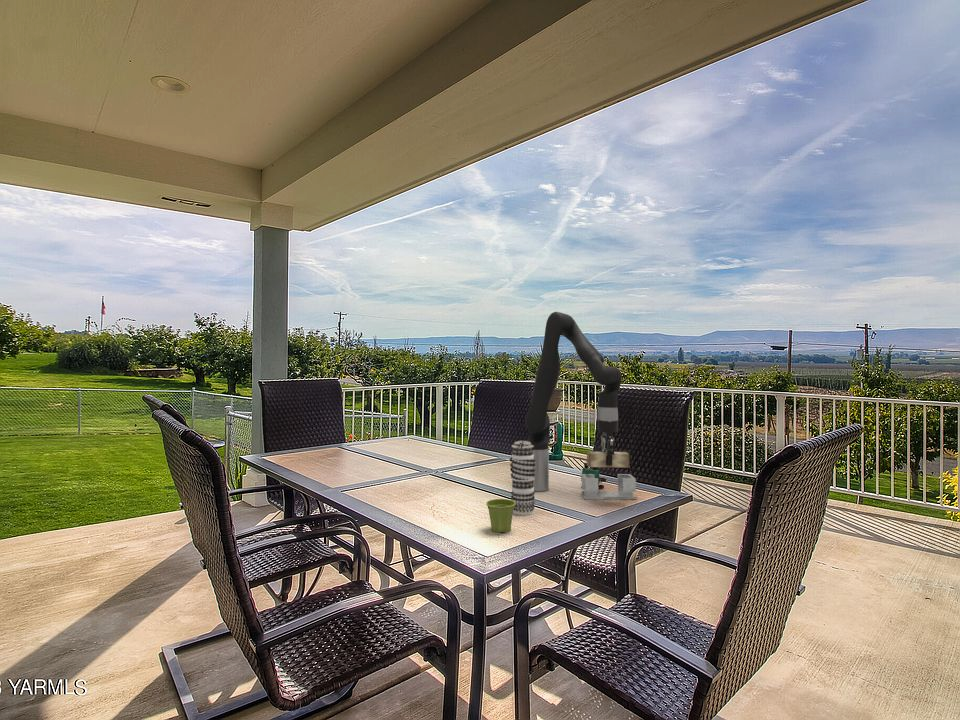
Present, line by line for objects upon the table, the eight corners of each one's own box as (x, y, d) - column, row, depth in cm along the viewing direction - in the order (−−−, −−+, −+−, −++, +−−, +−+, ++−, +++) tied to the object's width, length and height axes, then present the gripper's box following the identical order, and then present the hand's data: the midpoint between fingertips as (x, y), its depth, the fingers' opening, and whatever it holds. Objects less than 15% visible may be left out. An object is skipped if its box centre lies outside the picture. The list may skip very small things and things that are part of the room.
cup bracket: (584, 499, 193) (584, 478, 193) (581, 493, 201) (581, 474, 201) (636, 499, 192) (636, 478, 192) (630, 493, 201) (630, 474, 201)
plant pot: (503, 537, 151) (503, 508, 151) (480, 530, 157) (480, 503, 157) (521, 529, 158) (521, 502, 158) (498, 523, 164) (498, 497, 165)
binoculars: (609, 464, 212) (596, 465, 205) (608, 489, 211) (594, 491, 204) (592, 461, 219) (578, 462, 212) (590, 485, 218) (577, 487, 211)
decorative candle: (517, 516, 172) (516, 444, 172) (505, 509, 180) (505, 440, 180) (540, 513, 175) (540, 442, 175) (528, 506, 184) (527, 439, 184)
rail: (588, 467, 186) (588, 453, 186) (586, 464, 190) (586, 451, 190) (629, 467, 185) (629, 454, 185) (626, 465, 190) (626, 451, 190)
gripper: (594, 416, 195) (594, 460, 195) (601, 421, 181) (601, 467, 181) (613, 417, 195) (613, 460, 195) (622, 421, 180) (622, 468, 180)
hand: (607, 463), depth 188 cm, fingers closed on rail, 4 cm apart
